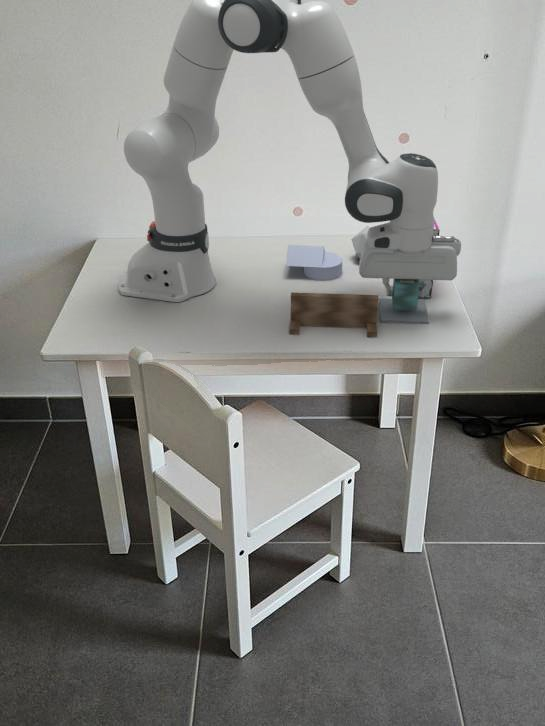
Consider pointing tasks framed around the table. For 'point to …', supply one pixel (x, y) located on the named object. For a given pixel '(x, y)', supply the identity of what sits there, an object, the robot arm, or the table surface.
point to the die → (360, 241)
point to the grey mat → (403, 313)
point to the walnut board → (334, 311)
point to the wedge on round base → (315, 261)
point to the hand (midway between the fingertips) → (404, 295)
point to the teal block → (405, 294)
